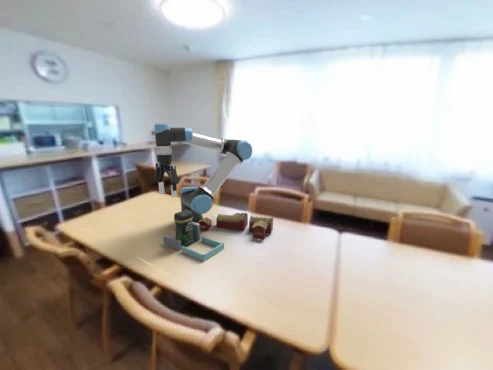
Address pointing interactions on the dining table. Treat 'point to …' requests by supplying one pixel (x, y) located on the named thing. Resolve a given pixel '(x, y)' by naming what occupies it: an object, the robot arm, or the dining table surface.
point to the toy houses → (240, 224)
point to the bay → (177, 244)
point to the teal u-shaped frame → (203, 257)
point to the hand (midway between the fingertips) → (168, 194)
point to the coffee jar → (184, 227)
